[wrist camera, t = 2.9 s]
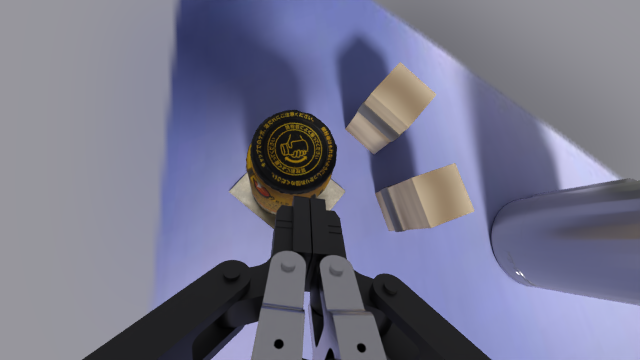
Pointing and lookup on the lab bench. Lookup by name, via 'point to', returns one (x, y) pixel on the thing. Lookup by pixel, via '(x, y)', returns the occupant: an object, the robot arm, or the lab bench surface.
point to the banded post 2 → (425, 200)
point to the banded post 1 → (390, 109)
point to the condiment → (288, 164)
